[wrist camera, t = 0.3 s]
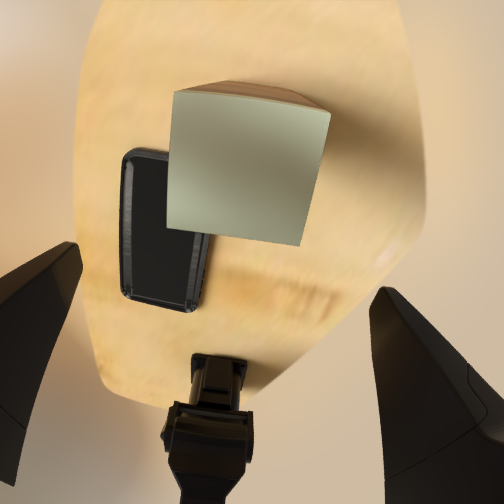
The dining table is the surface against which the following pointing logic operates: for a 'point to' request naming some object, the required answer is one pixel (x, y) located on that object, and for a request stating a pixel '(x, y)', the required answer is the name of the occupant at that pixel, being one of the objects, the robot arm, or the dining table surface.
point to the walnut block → (244, 161)
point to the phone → (156, 238)
